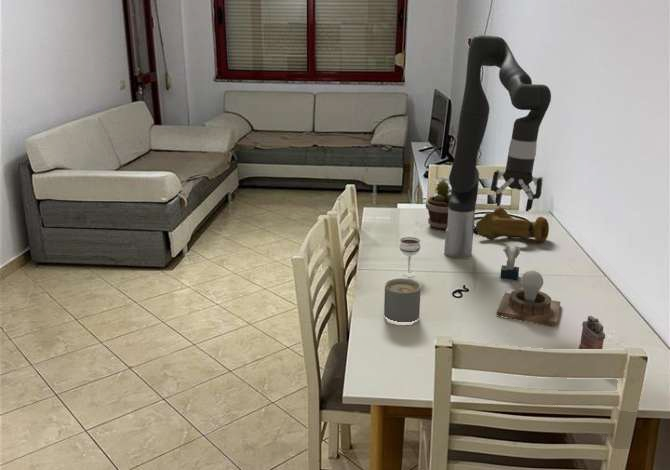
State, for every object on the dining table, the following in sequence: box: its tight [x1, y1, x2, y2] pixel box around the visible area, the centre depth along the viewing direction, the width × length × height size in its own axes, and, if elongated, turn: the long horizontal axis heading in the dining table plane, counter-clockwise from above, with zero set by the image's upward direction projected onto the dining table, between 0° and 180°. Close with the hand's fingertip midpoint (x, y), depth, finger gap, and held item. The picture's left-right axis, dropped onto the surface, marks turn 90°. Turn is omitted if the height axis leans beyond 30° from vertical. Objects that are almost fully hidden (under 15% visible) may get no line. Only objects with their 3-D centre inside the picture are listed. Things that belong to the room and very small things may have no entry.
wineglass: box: [399, 236, 421, 273], centre depth 196 cm, size 7×7×12 cm
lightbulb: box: [520, 270, 544, 303], centre depth 170 cm, size 6×6×11 cm
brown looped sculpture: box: [475, 206, 550, 244], centre depth 228 cm, size 18×13×22 cm
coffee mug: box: [383, 277, 422, 322], centre depth 168 cm, size 13×10×10 cm
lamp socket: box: [496, 288, 561, 328], centre depth 171 cm, size 16×14×4 cm
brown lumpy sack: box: [578, 315, 606, 350], centre depth 147 cm, size 8×3×10 cm, turn 5°
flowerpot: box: [425, 176, 451, 231], centre depth 241 cm, size 14×15×20 cm
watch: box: [499, 244, 521, 282], centre depth 193 cm, size 6×8×11 cm
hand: (512, 207), depth 177 cm, fingers open, 8 cm apart
